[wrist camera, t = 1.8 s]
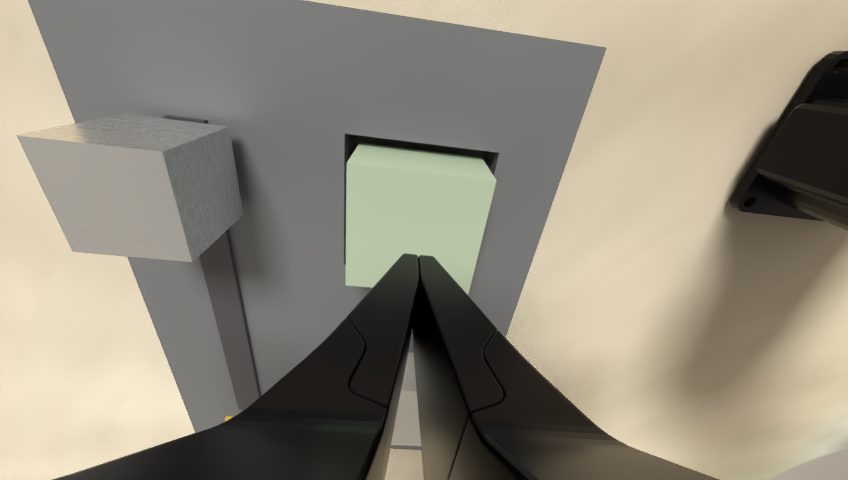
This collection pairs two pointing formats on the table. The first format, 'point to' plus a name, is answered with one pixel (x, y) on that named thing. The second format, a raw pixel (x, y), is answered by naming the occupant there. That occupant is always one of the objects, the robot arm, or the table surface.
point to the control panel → (315, 156)
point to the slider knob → (138, 184)
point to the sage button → (414, 210)
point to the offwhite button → (407, 409)
